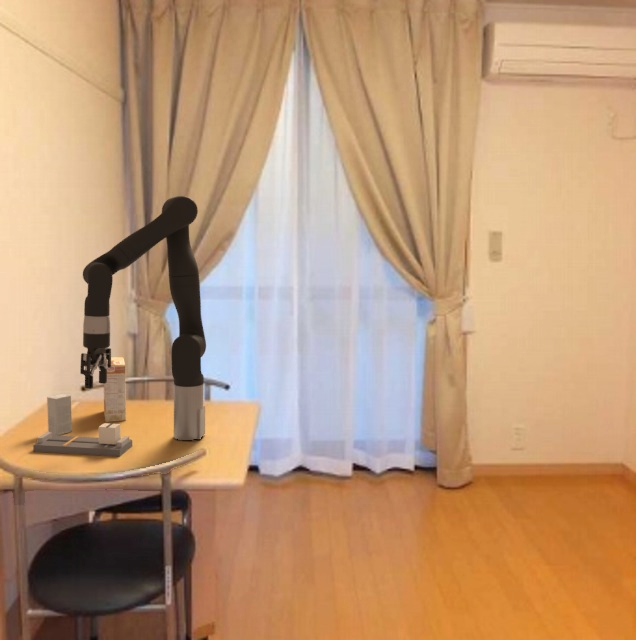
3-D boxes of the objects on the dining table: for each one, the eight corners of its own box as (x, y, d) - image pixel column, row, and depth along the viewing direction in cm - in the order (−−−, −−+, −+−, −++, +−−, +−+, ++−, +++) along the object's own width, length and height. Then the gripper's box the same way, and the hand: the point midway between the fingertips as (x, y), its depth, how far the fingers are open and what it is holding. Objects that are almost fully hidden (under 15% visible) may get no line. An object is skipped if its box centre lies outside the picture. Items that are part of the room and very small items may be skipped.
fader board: (132, 445, 213) (132, 434, 213) (120, 456, 203) (119, 444, 203) (49, 441, 215) (49, 430, 215) (33, 451, 206) (33, 439, 205)
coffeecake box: (103, 410, 252) (103, 357, 250) (124, 409, 254) (123, 356, 252) (104, 422, 238) (103, 365, 236) (126, 420, 240) (125, 364, 238)
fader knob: (120, 440, 210) (120, 423, 209) (115, 444, 206) (115, 427, 205) (104, 439, 210) (104, 422, 210) (98, 443, 206) (98, 426, 206)
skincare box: (63, 429, 228) (62, 393, 227) (72, 431, 226) (71, 395, 224) (47, 434, 223) (46, 396, 221) (56, 436, 221) (55, 398, 219)
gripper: (97, 334, 198) (96, 391, 200) (119, 329, 212) (118, 382, 214) (72, 332, 200) (71, 389, 201) (96, 327, 214) (95, 380, 215)
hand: (96, 385), depth 208 cm, fingers open, 8 cm apart
